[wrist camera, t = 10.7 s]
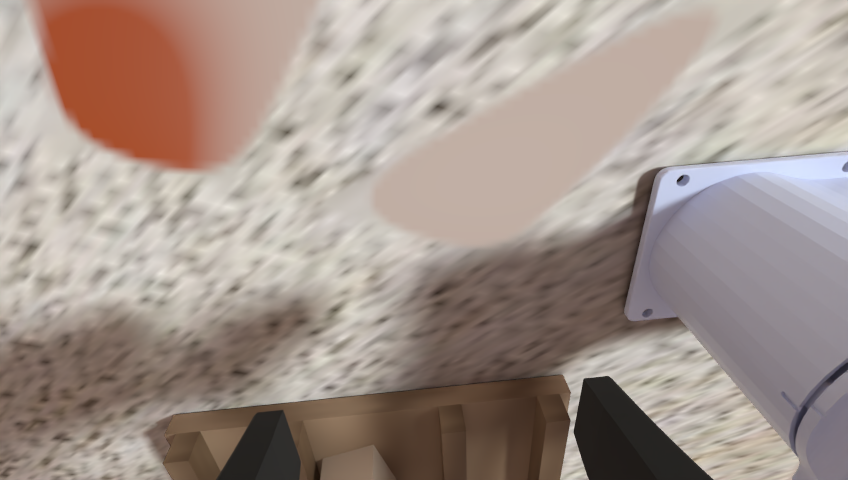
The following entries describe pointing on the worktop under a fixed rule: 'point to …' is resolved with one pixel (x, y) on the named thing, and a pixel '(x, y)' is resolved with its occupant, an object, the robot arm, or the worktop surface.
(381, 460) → the beige rectangular board
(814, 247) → the robot arm
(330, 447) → the rack
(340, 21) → the worktop surface
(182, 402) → the worktop surface
